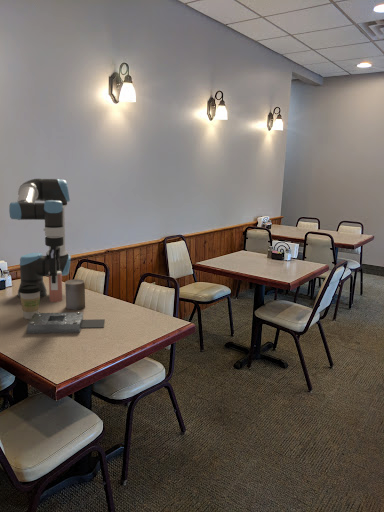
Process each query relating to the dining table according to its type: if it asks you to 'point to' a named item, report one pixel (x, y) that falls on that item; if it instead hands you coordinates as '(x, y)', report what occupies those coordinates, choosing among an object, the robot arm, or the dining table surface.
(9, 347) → the dining table surface
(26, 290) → the coffee cup
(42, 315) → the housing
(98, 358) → the dining table surface
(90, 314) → the dining table surface
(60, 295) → the pink round peg
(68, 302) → the pillar candle
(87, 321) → the mat
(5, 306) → the dining table surface
